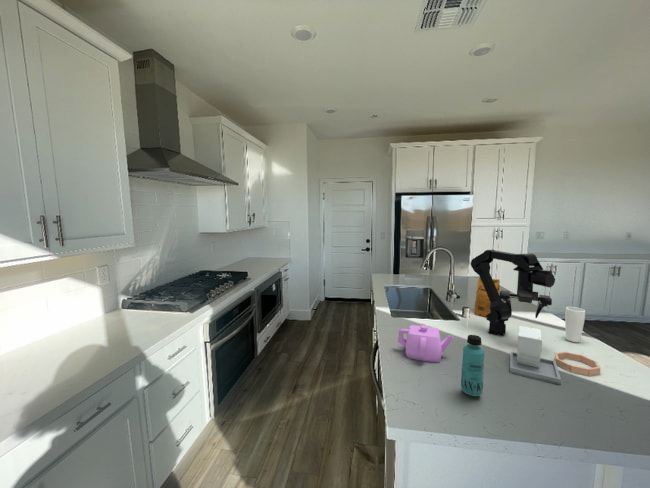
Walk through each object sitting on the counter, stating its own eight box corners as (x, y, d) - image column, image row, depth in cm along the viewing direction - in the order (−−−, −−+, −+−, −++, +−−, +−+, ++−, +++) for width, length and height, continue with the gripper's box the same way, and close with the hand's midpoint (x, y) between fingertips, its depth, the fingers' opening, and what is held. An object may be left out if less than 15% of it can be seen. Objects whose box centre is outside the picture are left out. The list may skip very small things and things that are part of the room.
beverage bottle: (456, 389, 96) (458, 332, 94) (475, 387, 97) (477, 331, 95) (467, 401, 90) (470, 341, 88) (487, 400, 90) (490, 340, 88)
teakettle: (394, 350, 125) (395, 323, 123) (423, 341, 132) (424, 316, 131) (423, 368, 109) (424, 338, 108) (454, 358, 117) (455, 329, 115)
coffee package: (477, 310, 173) (479, 274, 170) (500, 315, 164) (502, 278, 161) (471, 314, 166) (473, 277, 163) (495, 320, 157) (497, 281, 154)
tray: (510, 372, 106) (510, 367, 105) (510, 355, 118) (510, 351, 118) (560, 385, 98) (561, 379, 98) (555, 365, 110) (555, 360, 110)
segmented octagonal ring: (557, 369, 108) (557, 362, 107) (553, 355, 118) (553, 349, 118) (602, 379, 101) (603, 372, 100) (594, 363, 111) (594, 357, 111)
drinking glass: (586, 344, 127) (589, 312, 125) (569, 343, 128) (571, 311, 127) (576, 337, 134) (579, 307, 132) (559, 336, 135) (562, 306, 133)
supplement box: (539, 356, 113) (542, 329, 109) (539, 368, 107) (542, 340, 103) (516, 351, 117) (518, 325, 113) (515, 362, 111) (517, 335, 108)
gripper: (500, 283, 124) (498, 317, 126) (554, 289, 114) (551, 326, 115) (500, 278, 133) (499, 310, 135) (551, 283, 123) (548, 317, 125)
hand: (523, 316), depth 127 cm, fingers open, 9 cm apart
